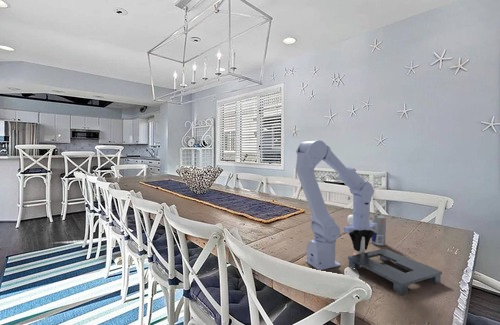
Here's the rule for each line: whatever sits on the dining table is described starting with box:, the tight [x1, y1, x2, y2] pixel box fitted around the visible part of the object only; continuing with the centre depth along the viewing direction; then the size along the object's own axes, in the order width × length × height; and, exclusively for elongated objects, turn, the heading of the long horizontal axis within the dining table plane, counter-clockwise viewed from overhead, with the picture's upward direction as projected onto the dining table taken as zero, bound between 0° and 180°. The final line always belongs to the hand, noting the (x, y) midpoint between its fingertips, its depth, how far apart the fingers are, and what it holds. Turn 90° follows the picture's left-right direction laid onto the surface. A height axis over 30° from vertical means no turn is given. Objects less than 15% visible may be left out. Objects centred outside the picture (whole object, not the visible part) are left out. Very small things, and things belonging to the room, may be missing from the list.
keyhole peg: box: [352, 236, 366, 256], centre depth 96 cm, size 5×5×8 cm
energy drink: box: [371, 214, 387, 247], centre depth 111 cm, size 5×5×12 cm
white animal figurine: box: [346, 214, 372, 230], centre depth 128 cm, size 9×8×15 cm
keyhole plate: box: [347, 248, 443, 296], centre depth 84 cm, size 18×20×3 cm
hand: (360, 249), depth 96 cm, fingers closed on keyhole peg, 3 cm apart
